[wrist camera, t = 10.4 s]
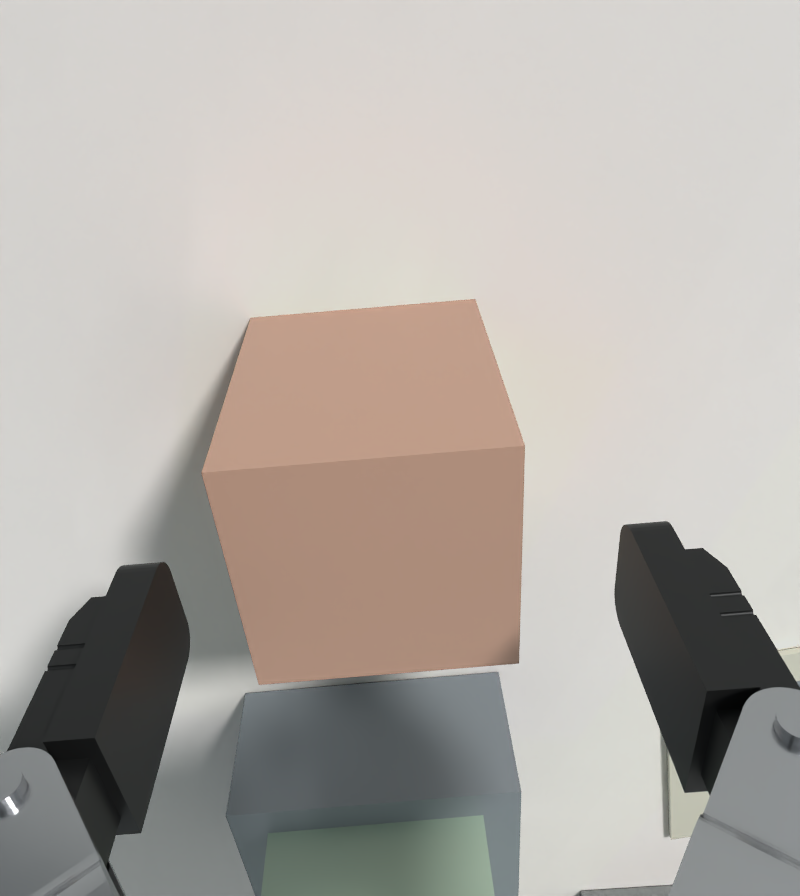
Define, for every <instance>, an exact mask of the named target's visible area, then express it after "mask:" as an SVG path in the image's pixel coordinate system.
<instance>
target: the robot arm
mask: <svg viewBox="0 0 800 896" xmlns="http://www.w3.org/2000/svg"><path fill="white" fill-rule="evenodd" d="M615 606H616V612H617V617H618V621H619V624H620V627H621V629H622V632H623V634H624V637H625V640H626V642H627V645H628V647H629V650H630V653H631V655H632V658H633V660H634V663H635V666H636V668H637V671H638V673H639V676H640V679H641V681H642V684H643V686H644V689H645V692H646V694H647V697H648V699H649V702H650V704H651V707H652V710H653V712H654V715H655V717H656V720H657V723H658V725H659V728H660V730H661V733H662V736H663V738H664V741H665V743H666V746H667V749H668V751H669V754H670V756H671V759H672V762H673V764H674V767H675V769H676V772H677V774H678V777H679V780H680V782H681V785H682V787H683V790H684V793H692V792H704V791H708V793H709V795H710V797H709V800H708V802H707V805H706V808H705V810H704V812H703V814H701V815H700V816H699V818H698V820H697V823H696V825H695V828H694V830H693V833H692V835H691V838H690V840H689V843H688V846H687V848H686V851H685V854H684V856H683V859H682V862H681V864H680V867H679V870H678V872H677V875H676V877H675V880H674V883H673V885H672V888H671V891H670V893H669V896H800V687H799V685H798V683H797V682H796V680H795V678H794V677H793V675H792V674H791V672H790V670H789V669H788V667H787V665H786V664H785V662H784V660H783V659H782V657H781V655H780V654H779V652H778V650H777V649H776V647H775V646H774V644H773V642H772V641H771V639H770V637H769V636H768V634H767V632H766V631H765V629H764V627H763V626H762V624H761V622H760V621H759V619H758V618H757V616H756V615H754V614H753V609H752V608H751V606H750V604H749V603H748V601H747V599H746V598H745V596H742V594H741V590H740V588H739V586H738V585H737V583H736V581H735V580H734V578H733V576H732V575H731V573H730V571H729V570H728V568H727V567H726V566H725V565H723V564H722V563H721V562H720V561H718V560H717V559H716V558H714V557H713V556H712V555H711V554H709V553H708V552H707V551H706V550H704V549H703V548H698V549H686V550H685V549H684V547H683V545H682V543H681V541H680V540H679V538H678V536H677V534H676V532H675V531H674V529H673V527H672V526H671V524H670V523H669V522H667V521H664V522H652V523H640V524H628V525H624V526H623V527H622V529H621V533H620V542H619V552H618V561H617V571H616V581H615ZM57 646H58V649H57V650H55V651H54V653H53V656H52V658H51V660H50V662H49V664H48V671H45V672H44V675H43V677H42V679H41V681H40V683H39V685H38V687H37V689H36V691H35V694H34V696H33V698H32V700H31V702H30V704H29V706H28V708H27V710H26V713H25V715H24V717H23V719H22V721H21V723H20V725H19V727H18V729H17V732H16V734H15V736H14V738H13V740H12V742H11V744H10V746H9V748H8V750H7V752H4V753H2V754H0V896H126V895H125V892H124V890H123V888H122V886H121V884H120V882H119V880H118V878H117V876H116V873H115V871H114V869H113V867H112V865H111V863H110V861H109V856H110V853H111V849H112V846H113V843H114V839H115V836H116V835H122V834H135V833H141V831H142V827H143V824H144V820H145V816H146V813H147V809H148V805H149V802H150V798H151V794H152V791H153V787H154V783H155V780H156V776H157V772H158V768H159V765H160V761H161V757H162V754H163V750H164V746H165V743H166V739H167V735H168V732H169V728H170V724H171V720H172V717H173V713H174V709H175V706H176V702H177V698H178V695H179V691H180V687H181V684H182V680H183V676H184V673H185V669H186V665H187V661H188V657H189V650H190V633H189V627H188V622H187V619H186V616H185V613H184V610H183V607H182V604H181V601H180V598H179V595H178V592H177V589H176V586H175V583H174V580H173V577H172V574H171V571H170V569H169V567H168V565H167V564H166V563H165V562H159V563H147V564H135V565H123V566H121V567H119V569H118V570H117V572H116V574H115V576H114V578H113V581H112V583H111V585H110V587H109V590H108V592H107V594H106V596H104V597H92V598H90V599H89V600H88V602H87V603H86V604H85V605H84V606H83V607H82V608H81V609H80V610H79V611H78V612H77V613H76V614H75V615H74V616H73V617H72V618H71V619H70V620H69V622H68V624H67V626H66V628H65V630H64V632H63V634H62V637H61V639H60V641H59V643H58V645H57Z"/></svg>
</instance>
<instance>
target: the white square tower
mask: <svg viewBox="0 0 800 896" xmlns="http://www.w3.org/2000/svg"><path fill="white" fill-rule="evenodd" d="M671 888H672V885H668V886H652V887H636V888H621V889H605V890H589V891H581V894H580V896H669V893H670V891H671Z"/></svg>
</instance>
